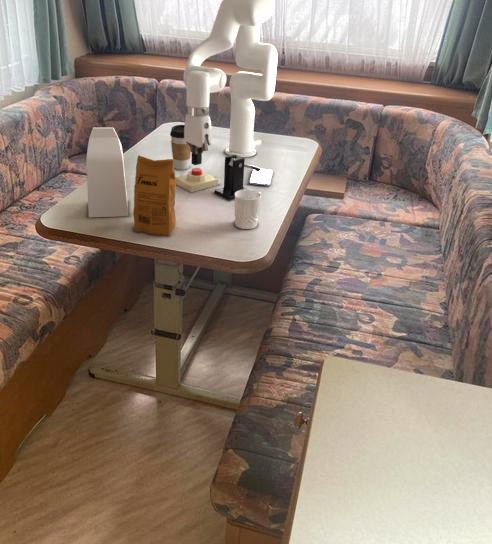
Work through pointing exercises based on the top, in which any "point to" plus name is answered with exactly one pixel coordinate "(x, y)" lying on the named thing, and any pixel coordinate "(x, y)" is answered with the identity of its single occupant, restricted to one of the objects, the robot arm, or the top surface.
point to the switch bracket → (232, 178)
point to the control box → (196, 181)
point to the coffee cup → (180, 148)
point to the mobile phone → (261, 177)
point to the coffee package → (154, 196)
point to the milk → (106, 174)
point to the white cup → (247, 208)
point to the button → (196, 171)
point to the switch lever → (245, 165)
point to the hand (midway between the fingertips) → (196, 163)
